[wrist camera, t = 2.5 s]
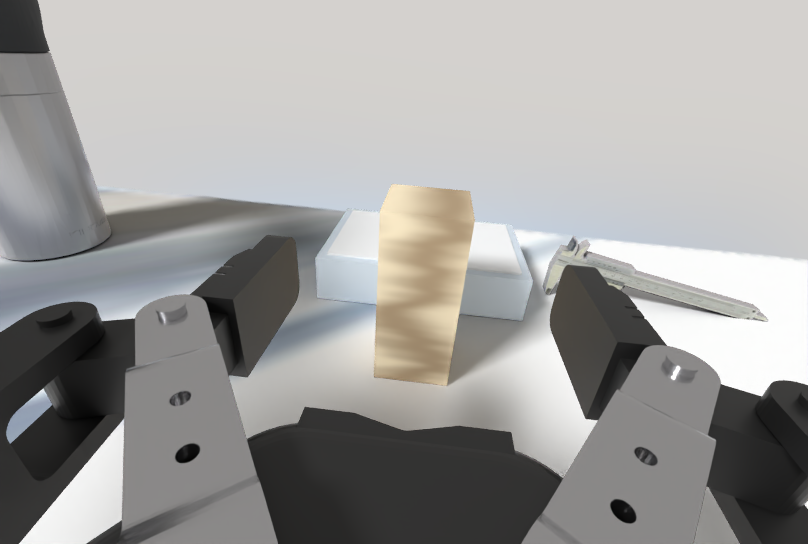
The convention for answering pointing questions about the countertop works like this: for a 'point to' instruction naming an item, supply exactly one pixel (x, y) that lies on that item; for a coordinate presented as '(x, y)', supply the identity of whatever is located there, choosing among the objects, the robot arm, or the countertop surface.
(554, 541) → the robot arm
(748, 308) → the caliper
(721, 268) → the countertop surface
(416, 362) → the maple block
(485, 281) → the white chamfered block
